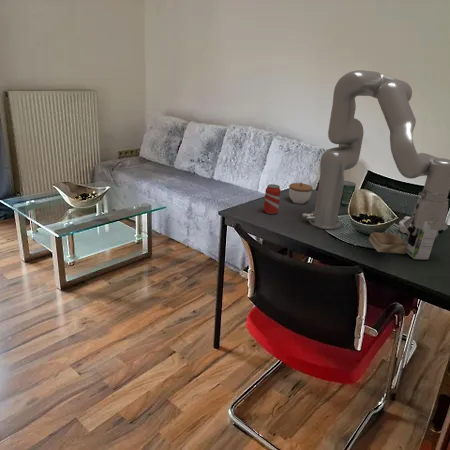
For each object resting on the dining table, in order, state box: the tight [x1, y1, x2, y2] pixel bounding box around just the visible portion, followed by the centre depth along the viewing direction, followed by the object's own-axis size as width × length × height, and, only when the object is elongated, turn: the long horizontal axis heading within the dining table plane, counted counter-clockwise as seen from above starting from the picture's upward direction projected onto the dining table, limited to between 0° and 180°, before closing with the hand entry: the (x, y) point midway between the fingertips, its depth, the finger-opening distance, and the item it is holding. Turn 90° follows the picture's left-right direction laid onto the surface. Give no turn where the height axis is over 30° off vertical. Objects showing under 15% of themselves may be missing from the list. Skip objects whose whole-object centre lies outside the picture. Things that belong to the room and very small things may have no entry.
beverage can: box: [263, 183, 282, 215], centre depth 171 cm, size 6×6×12 cm
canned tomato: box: [340, 180, 357, 209], centre depth 188 cm, size 8×8×11 cm
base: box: [368, 231, 408, 255], centre depth 147 cm, size 10×10×4 cm
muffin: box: [398, 215, 411, 235], centre depth 160 cm, size 6×6×7 cm
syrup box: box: [406, 221, 438, 260], centre depth 138 cm, size 6×6×14 cm
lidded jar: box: [288, 182, 313, 205], centre depth 189 cm, size 11×11×9 cm
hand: (420, 244), depth 139 cm, fingers closed on syrup box, 5 cm apart
